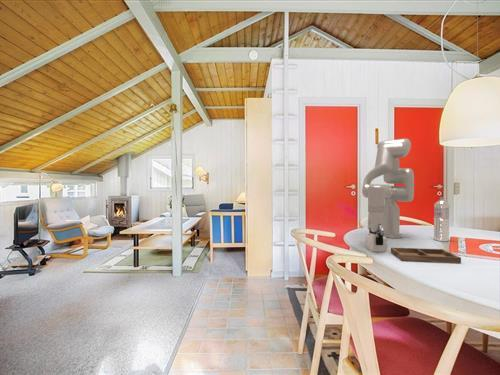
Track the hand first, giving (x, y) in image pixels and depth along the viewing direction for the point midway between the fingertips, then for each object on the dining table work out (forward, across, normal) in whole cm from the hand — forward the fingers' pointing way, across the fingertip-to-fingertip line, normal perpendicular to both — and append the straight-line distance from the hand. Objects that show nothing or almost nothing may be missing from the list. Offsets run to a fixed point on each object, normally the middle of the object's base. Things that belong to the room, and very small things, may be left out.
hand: (375, 242), depth 120 cm
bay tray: (+4, +10, +17) cm, 20 cm away
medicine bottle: (+4, 0, 0) cm, 4 cm away
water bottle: (+4, -23, +43) cm, 49 cm away
